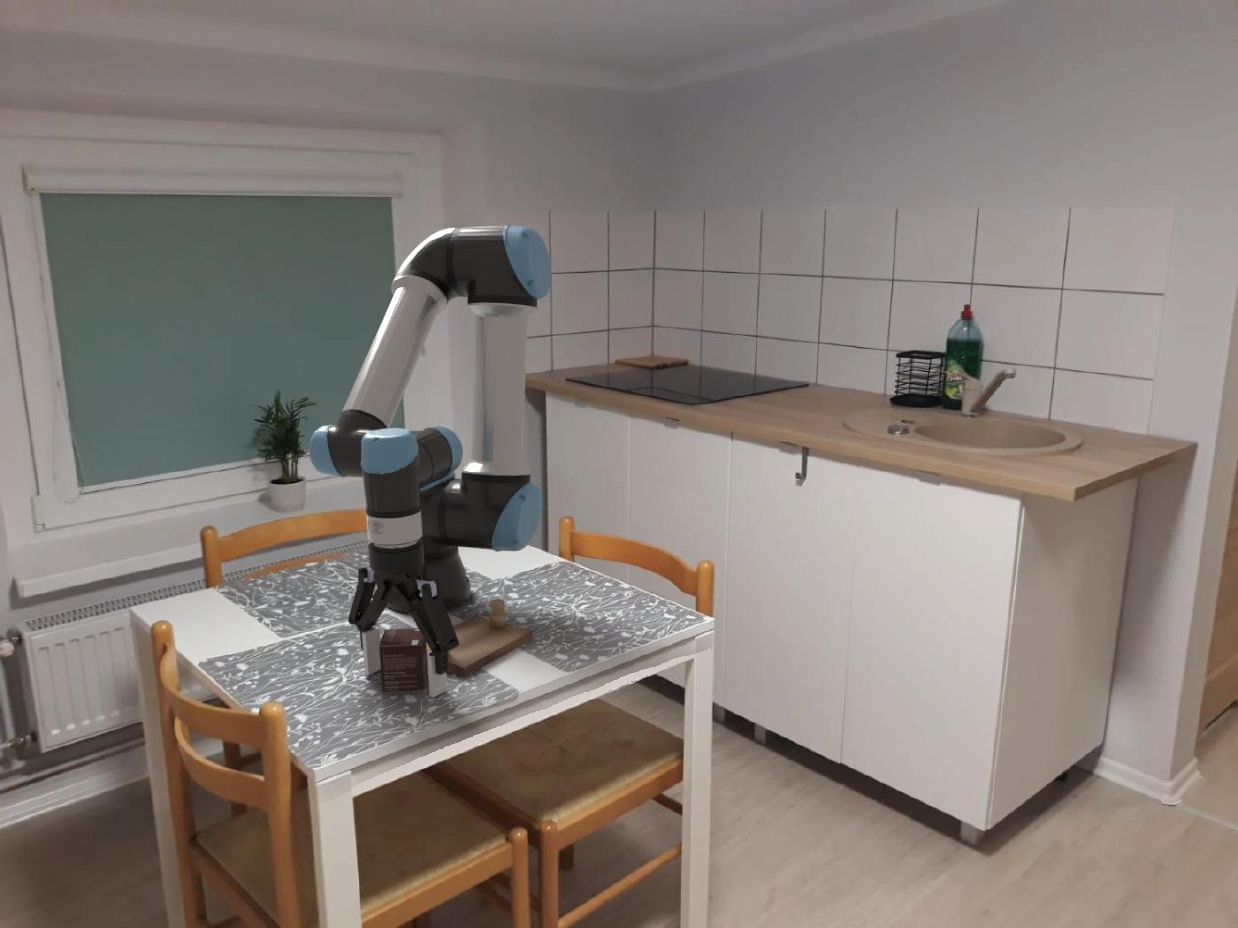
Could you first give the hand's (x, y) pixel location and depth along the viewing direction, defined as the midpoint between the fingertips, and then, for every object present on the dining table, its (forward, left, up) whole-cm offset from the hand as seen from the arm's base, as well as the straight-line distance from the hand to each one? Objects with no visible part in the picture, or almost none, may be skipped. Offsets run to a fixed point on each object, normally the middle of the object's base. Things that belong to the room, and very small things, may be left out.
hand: (405, 682), depth 142 cm
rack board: (0, +14, 0) cm, 14 cm away
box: (0, 0, 0) cm, 0 cm away
